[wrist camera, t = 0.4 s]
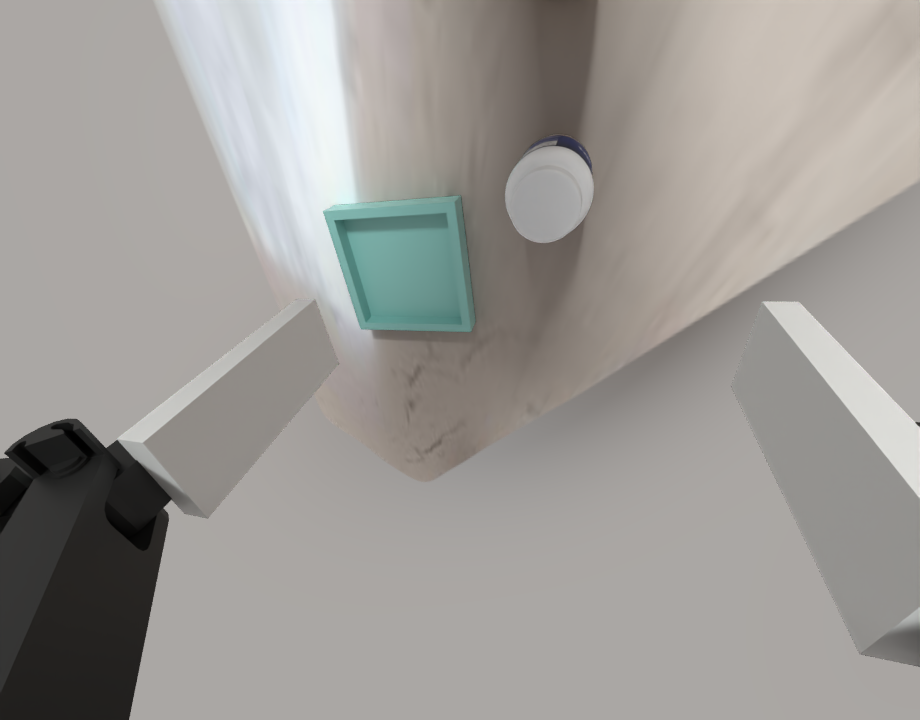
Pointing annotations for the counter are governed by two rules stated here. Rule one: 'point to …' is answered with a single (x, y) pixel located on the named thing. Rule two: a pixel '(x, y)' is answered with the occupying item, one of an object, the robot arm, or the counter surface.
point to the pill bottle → (550, 189)
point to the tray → (405, 263)
